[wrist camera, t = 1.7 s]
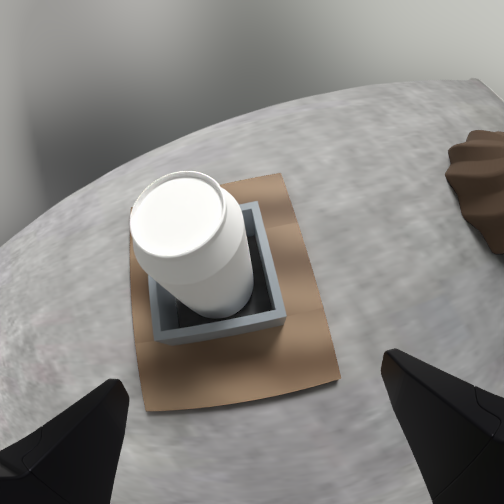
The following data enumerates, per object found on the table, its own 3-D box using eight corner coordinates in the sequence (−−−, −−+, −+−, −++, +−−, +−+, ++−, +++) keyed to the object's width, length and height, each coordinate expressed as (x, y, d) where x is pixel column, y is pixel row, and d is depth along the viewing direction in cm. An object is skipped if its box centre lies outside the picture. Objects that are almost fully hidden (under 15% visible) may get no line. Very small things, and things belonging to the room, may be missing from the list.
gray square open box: (283, 326, 22) (286, 316, 18) (175, 346, 21) (154, 340, 17) (259, 228, 25) (257, 200, 21) (164, 249, 25) (146, 226, 21)
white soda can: (269, 293, 23) (267, 220, 12) (207, 335, 22) (146, 299, 11) (229, 240, 25) (201, 144, 14) (172, 277, 24) (104, 203, 13)
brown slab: (338, 378, 19) (341, 378, 19) (149, 410, 19) (145, 411, 18) (280, 177, 28) (280, 172, 27) (133, 211, 27) (130, 207, 27)
